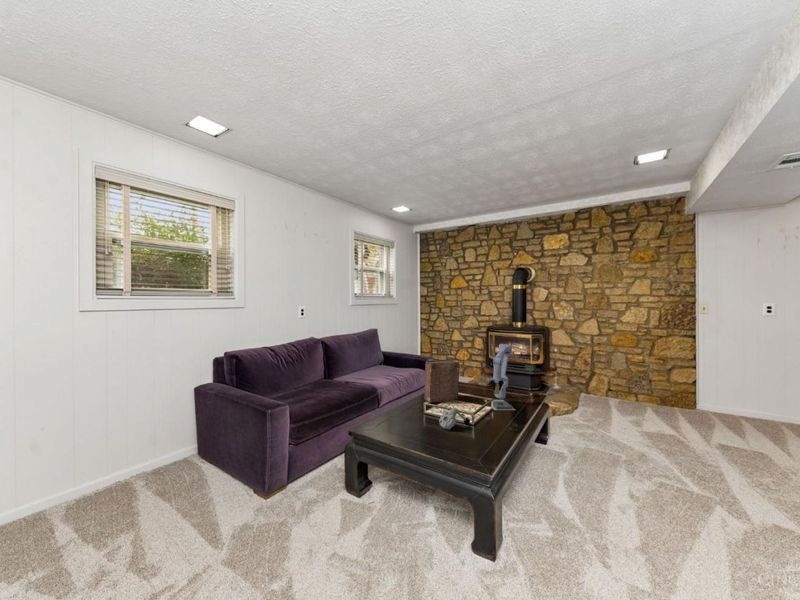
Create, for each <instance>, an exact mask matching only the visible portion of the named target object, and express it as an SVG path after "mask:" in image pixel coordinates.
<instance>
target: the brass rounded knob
mask: <svg viewBox="0 0 800 600" xmlns="http://www.w3.org/2000/svg"><path fill="white" fill-rule="evenodd" d="M494 382H495V381H494ZM499 387H500V383H498V382H495V391H493V394H494V395H495V394H499Z"/></svg>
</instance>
